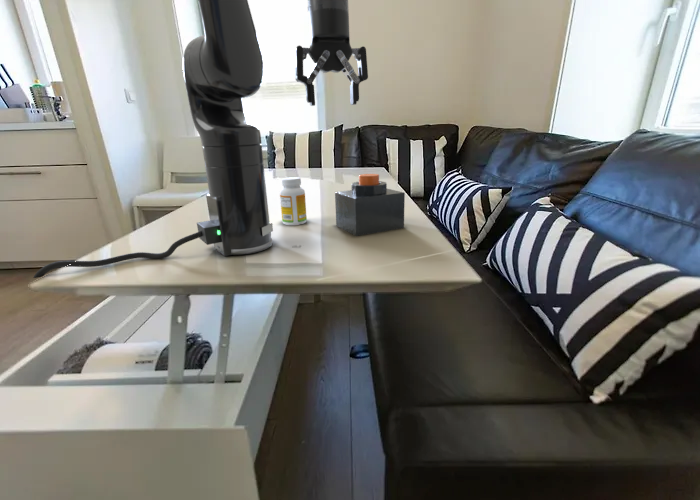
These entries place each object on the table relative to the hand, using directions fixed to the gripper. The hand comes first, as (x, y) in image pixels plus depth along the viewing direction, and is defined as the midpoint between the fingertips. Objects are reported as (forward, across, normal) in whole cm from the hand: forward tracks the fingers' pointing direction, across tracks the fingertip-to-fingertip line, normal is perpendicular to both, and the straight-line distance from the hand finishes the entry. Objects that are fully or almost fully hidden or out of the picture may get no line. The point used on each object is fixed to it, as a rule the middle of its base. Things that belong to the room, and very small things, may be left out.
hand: (333, 105), depth 73 cm
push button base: (+24, +4, -8) cm, 26 cm away
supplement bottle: (+24, -10, +1) cm, 26 cm away
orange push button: (+15, +4, -8) cm, 18 cm away
